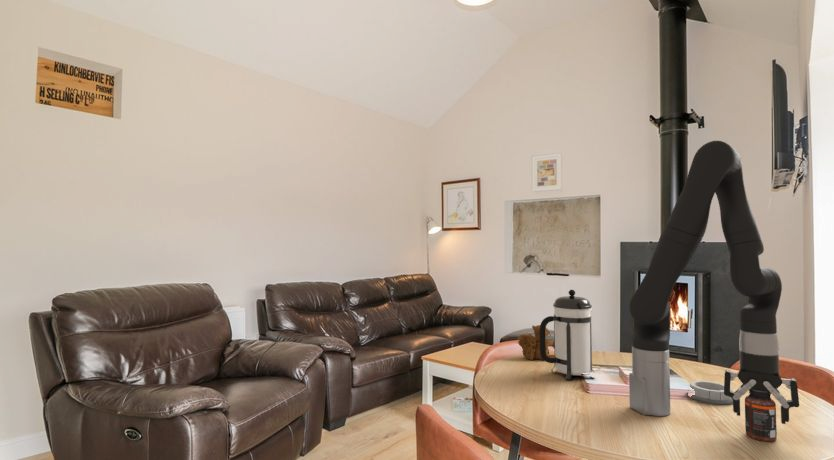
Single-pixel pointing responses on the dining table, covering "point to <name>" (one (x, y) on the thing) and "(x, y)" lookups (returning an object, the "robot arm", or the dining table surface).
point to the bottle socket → (710, 393)
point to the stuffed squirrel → (534, 344)
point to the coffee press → (570, 336)
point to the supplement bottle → (760, 416)
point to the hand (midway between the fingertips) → (760, 418)
